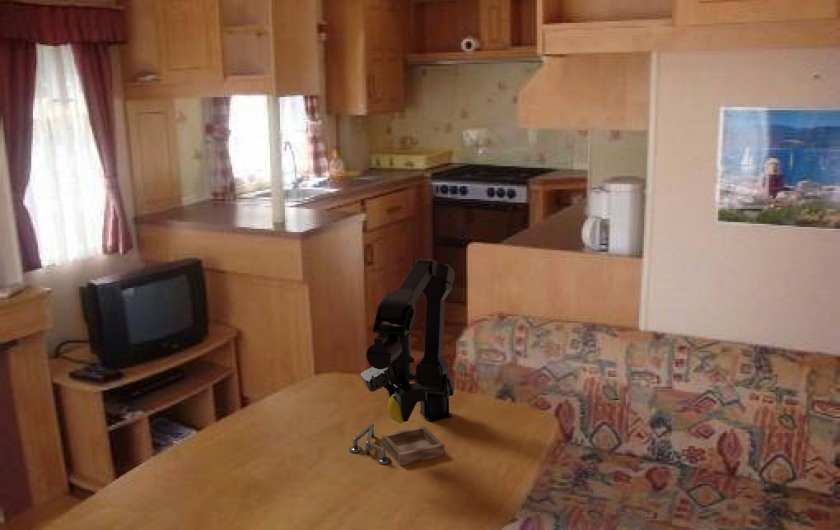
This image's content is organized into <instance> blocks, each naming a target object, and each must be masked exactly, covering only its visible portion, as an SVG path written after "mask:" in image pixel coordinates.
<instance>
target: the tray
mask: <svg viewBox="0 0 840 530" xmlns="http://www.w3.org/2000/svg"><path fill="white" fill-rule="evenodd" d="M381 444H382V445H381V446H382V448H385V449H386V452H388V454H389V455H390V456H391V457H392V458H393V460H394V461H396V463H397V464H398V465H399V466H404V465H409V464H412V463H413V464H414V463H418V462H422V461H425V460H430V459H434V458H439V457H442V456H445V445H444V443H443V442H441V441H440V440H439V438H437V436H436V435H434V434H433V433H432V432H431V430H429V429H428V428H427V427H426V426H425V425H423V426H422V425H421V426H418V427H414V428H409V429H405V430H404V429H403V430H400V431H399V430H398V431H394V432H389V433H385V434H382V435H381Z"/></svg>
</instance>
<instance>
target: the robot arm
mask: <svg viewBox="0 0 840 530" xmlns="http://www.w3.org/2000/svg"><path fill="white" fill-rule="evenodd" d="M455 274H456V273H455V270H454V269H453V268H452V267H451V265H450V264H445V263H444V264H443V263H440V262H438V261H436V260H435V259H430V258H429V259H426V258H417V259H415V260H414V262H413V266H412V267H411V269H410V271H409V272H408V274H407V275H406V277H405V278H404V279H403V281H402V282H401V284H400V285H399V287H398V288H397V290H393V291H391V292H389V293H387V294H386V295H385V296H384V298H382V300H381V301H380V302H379V303H378V306H377V310H376V314H375V319H374V322H373V323H374V324H373V327H372V333H374V334H378V336H376V337H374V339H373V343H372V344H371V345H370V346H369V347H368V348H367V351H366V354H365V355H366V360H367V362H368V364H369V365H370V366H371V367H370V368H368V369H366V370H364V371H362V372H361V373H360V377H361V379H362V381H363V383H364V385H365V387H366V388H367V389H368V391H369V392H372V393H373V392H376V391H378V390H380V389H382V388H384V389H386V393H387V395H388V398H389V399H390V397H391V396H392V395H393V394H394V393H395V396H393V398H394V399H395V400H396V401H397V402H398V403H399V405H400V411H401V416H402V420H403V423H406V422H408V421H409V419H410V417H411V416H412V413H413V411H414V409H415V407H416V405H417V403H419V402H420V403H419V404H420V409H419V413H420V415H422V416H423V417H424V418H425V419H426V420H427V421H429V422H433V421H439V420H443V419H447V418H452V417H453V414H452V413H450V397H451V396H454V391H455V381H454V380H453V378H452V377H451V375H450V374H449V371H450V370H449V368H450V367H449V364H448V363H447V362H446V359H445V357H444V355H443V354H444V332H445V313H446V312H445V311H446V310H445V309H446V298H447V297H448V295H449V294H450V293H451V291H452V290H453V283H454V282H455V278H456V275H455ZM421 294H422V295H423V297H424V298H425V316H424V317H425V318H424V319H425V321H424V323H425V324H424V344H423V345H424V346H423V357H422V358H421V360H420V361H419V363H417V365H416V367H415V374H414V373H413V372H412V363H415V357H413V356H412V351H411V350H412V347H411V346H412V345H411V332H412V328H413V325H414V322H415V317H416V314H417V311H416V302H417V301H418V300H419V298H420V296H421ZM382 323H383V324H382ZM386 324H387V325H386ZM412 380H414V382H413V383H411V382H410V381H412ZM410 415H411V416H410Z"/></svg>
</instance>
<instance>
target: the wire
mask: <svg viewBox="0 0 840 530" xmlns="http://www.w3.org/2000/svg"><path fill="white" fill-rule="evenodd" d="M366 434H367V438H366V440H365V454H366V455H367V456H369V455H371V449H374V450H376V451H377V452H380V453H381V456H379V457H378V458H377V459H376V460H377V462H376V463H378V464H380V465H388V464H390V463H391V461H392V460H391V457H390V456H387V450H386V449H385V448H384V447H383V446H379V445H377V444H375V443H372V442H371V439H372V438H374V437H375V424H373V423H370V424H369V425H368V426H367V427H366V428H364V429H363V430H362V431H361V432H360V433H357V435H355V437H353V438H352V444H353V445H351V446H350V447H349V448H348V452H350V453H351V452H352V453H353V454H357V453H361V452H362V451H363V447H362V446H360V445H359V444H358V443H359V442H358V441H359V440H360V439H362V437H364V436H365V435H366Z"/></svg>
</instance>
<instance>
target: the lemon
mask: <svg viewBox="0 0 840 530" xmlns="http://www.w3.org/2000/svg"><path fill="white" fill-rule="evenodd" d="M393 396H395V393H394V394H393V395H392V396H391V397H390V398H389V399H388V404H387V411H388V415H389V417H390V418H391V420H393V421H394V422H397V423H398V424H403V423H404V422H403V420H402V416H401V411H400V405H399V403H398V402H397V401H396V400H395V399H394V398H393ZM411 416H412V414H411V415H410V417H411Z"/></svg>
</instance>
